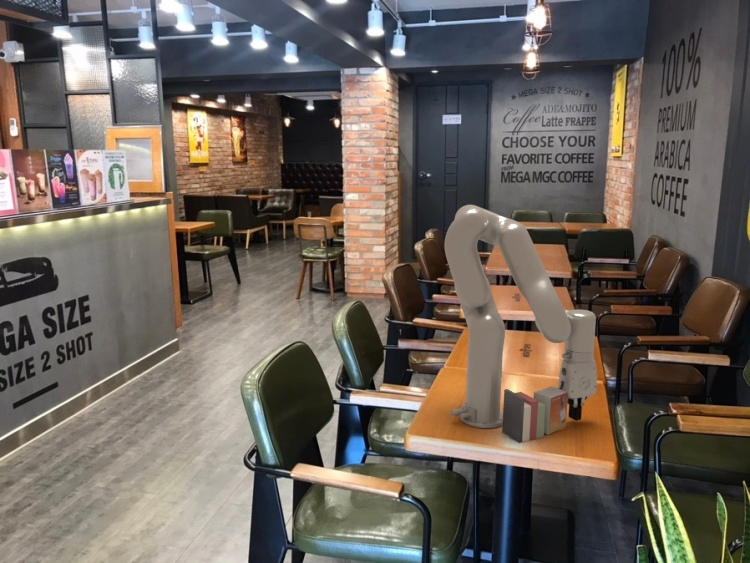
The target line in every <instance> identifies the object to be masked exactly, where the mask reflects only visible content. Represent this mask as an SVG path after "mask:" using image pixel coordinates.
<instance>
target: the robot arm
mask: <svg viewBox="0 0 750 563" xmlns="http://www.w3.org/2000/svg"><path fill="white" fill-rule="evenodd" d="M454 216H455V217H454V220H453V221H452V222H451V223H450V225H449V227H448V229H447V231H446V234H445V237H444V238H445V239H444V252H445V253H444V254H445V257H446V261H447V263H448V267H449V271H450V275H451V278H452V280H453V282H454V283H453V284H454V290H455V294H456V296H457V299H458V301H459V304H460V307H461V308H460V309H461V310H462V314H463V316H464V318H465V322H466V324H467V329H468V341H467V342H468V343H467V344H468V346H467V356H466V357H467V361H466V367H467V368H466V384H465V385H466V386H465V387H466V390H465V394H466V395H465V402H463V403H462V404H461V405H462V406H461V407H460V408H458V409H457V408H455V409H451V410H450V416H451V417H453V418H454V417H459V419H460V420H461V422H462V423H464V424H465V425H468V426H470V427H474V428H478V429H479V428H480V429H493V428H498V427H501V426H502V425H503V411H501V400H502V399H501V397H502V376H503V356H504V354H503V353H504V345H505V338H506V327H505V323H504V320H503V318H502V316H501V314H500V313H499V311H498V308H497V306H496V302H495V299H494V296H493V293H492V289H491V284H490V281H489V279H488V277H487V275H486V273H485V270H484V268H483V264H482V260H481V256H480V255H479V250H478V242H479V240H480V241H483V242H484V243H487V244H491V245H492V246H495V247H498V249H499V251H500V253H501V255H502V257H503V260H504V262H505V264H506V266H507V268H508V270H509V273H510V274H511V276H512V279H513V281H514V283H515V285H516V287H517V288H518V290H519V292H520V293H521V295H522V296H523V298H524V299H525V301H526V302H527V304H528V305H529V307H530V309H531V311H532V313H533V315H534V321H535V322H534V323H535V325H536V326H535V327H536V328H537V329H538V330H539V333H541V334H542V336H543V337H544V339H546V340H547V341H548V342H550V343H553V344H561V343H564V351H563V352H564V353H562V354H561V356H562V358H563V360H562V361H561V365H560V370H559V376H558V383H557V384H558V385H557V386H558V387H557V388H559V389H562V390H564V391H565V392H567V397H568V402H567V405H568V417H569V419H571V420H574V421H575V422H577V421H581V420H582V412H583V410H582V409H583V407H584V405H585V401H586V400H587V399H588V398H590V397H592V396H594V395H596V393H597V388H598V387H597V386H598V375H597V374H598V373H597V364H596V360H595V359H594V350H595V339H596V338H595V336H596V322H597V321H596V319H597V317H596V314H595V313H594V312H593V311H590V310H587V309H570V310H569V309H565V308H564V306H563V304H562V302H561V299H560V298H559V296H558V294H557V292H556V290H555V287H554V286H553V283H552V282H551V281H552V280H551V279H550V277H549V275H548V273H547V271H546V268H545V266H544V264H543V262H542V260H541V258H540V255H539V253H538V251H537V249H536V247H535V244H534V243H533V242H534V241H533V240H532V237H531V236H530V234H529V232H528V230H527V228H526V226H524V224H522V223H521V222H519V221H517V220H514V219H512V218H508V217H505V216H502V215H500V214H497V213H495V212H493V211H490V210H488V209H485V208H483V207H480V206H477V205H475V204H466V205H464V206H462V207H460V208H459V209H458V210H457V211H456V213H455V215H454Z"/></svg>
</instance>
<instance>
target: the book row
mask: <svg viewBox="0 0 750 563" xmlns="http://www.w3.org/2000/svg"><path fill="white" fill-rule="evenodd" d="M502 413H503V425H501V426H502V430H501V433H503V434H504V435H506V436H508V437H509V438H510V439H512V440H514V441H516V442H517V443H518V444H522V443H524V442H525V443H526V442H529V441H532V440H538V439H541V438H544V434H545V433H544V419H545V404H543V403H541V402H539V401H538V400H536V399H534V397H531V396H530V395H528V394H526V393H524V392H522V391H518V392H517V391H516V392H513V391H512V390H509V389H508V388H506V389H504V390H503V408H502Z"/></svg>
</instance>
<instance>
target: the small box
mask: <svg viewBox="0 0 750 563" xmlns="http://www.w3.org/2000/svg"><path fill="white" fill-rule="evenodd" d="M533 398H534V399H536V400H538V401H539V402H541V403H543V404H545V419H544V434H546V435H550V434H553V433H555V432H558V431H561V430H563V429H566V423H567V414H568V412H567V410H568V404H567V402H568V397H567V392H565V391H564V390H562V389H559V388H558V387H555V386H553V385H551V386H549V387H546V388H543V389H540V390H536V391H534V392H533Z"/></svg>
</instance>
